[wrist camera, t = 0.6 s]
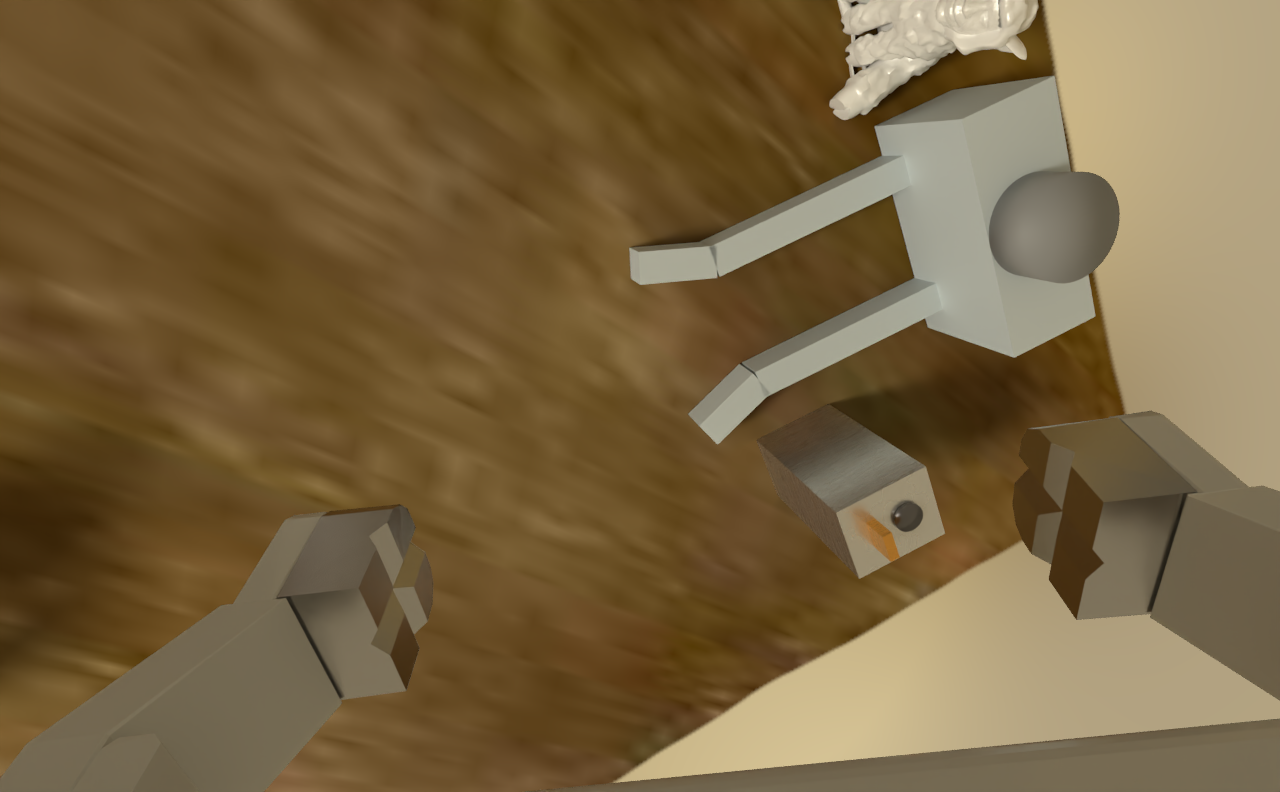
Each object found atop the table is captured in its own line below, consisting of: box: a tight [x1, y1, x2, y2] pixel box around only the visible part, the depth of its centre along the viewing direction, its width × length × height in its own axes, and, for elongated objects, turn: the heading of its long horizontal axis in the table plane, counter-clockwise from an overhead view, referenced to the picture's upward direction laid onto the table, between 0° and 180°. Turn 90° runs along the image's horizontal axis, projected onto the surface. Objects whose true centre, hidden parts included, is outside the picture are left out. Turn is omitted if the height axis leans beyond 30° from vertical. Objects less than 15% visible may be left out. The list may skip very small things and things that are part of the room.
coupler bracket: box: [629, 76, 1119, 444], centre depth 45 cm, size 15×25×12 cm, turn 113°
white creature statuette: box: [829, 0, 1039, 120], centre depth 41 cm, size 10×9×12 cm
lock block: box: [757, 404, 945, 579], centre depth 48 cm, size 5×6×14 cm
